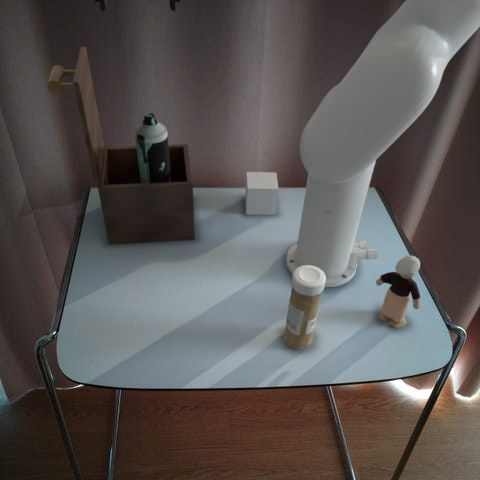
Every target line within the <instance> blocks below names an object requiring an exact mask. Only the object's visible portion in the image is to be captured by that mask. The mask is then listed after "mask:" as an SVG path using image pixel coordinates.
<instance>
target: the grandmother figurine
mask: <svg viewBox="0 0 480 480" xmlns="http://www.w3.org/2000/svg"><path fill="white" fill-rule="evenodd" d="M420 267H421V261H420V259H419V258H418V257H416V256H415V255H406V256H403V257H402V258H400V259H399V260H398V262H397V263H396V264H395V265H394V268H395V271H389V272H386V273H383V274H381V275H380V277H379V278H378V279H377V280H376V281H375V284H376V286H378V287H381V286H383V284H388V285H390V286H389V287H388V289H387V292H386V294H385V296H384V299H383V303H382V306H381V311H380V312H379V314H378V320H380V321H382V322H388V321H389V320H390V319H392V320H391V321H390V323H389V324H390V326H391V327H392V328H395V329H400V328H402V327H405V326H406V325H407V319H406V318H405V316H406V312H407V308H408V306H409V303H410V296H411V299H412V307H413V309H415V310H419V309H420V308H421V304H420V303H421V294H420V290H419V287H418V284H417V282H416V281H415V280H414V279H413V278H414V277H416V276H417V274H418V273H419V271H420V269H421V268H420Z"/></svg>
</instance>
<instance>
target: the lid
mask: <svg viewBox="0 0 480 480" xmlns="http://www.w3.org/2000/svg"><path fill="white" fill-rule="evenodd" d="M87 50H88V49H87V47H86V46H80V48H79V53H78V58H77V62H76V67H75V69H65V68H64V67H63V66H62V65H59V64H55V65H54V66H53V67H52V68H51V71H50V75H49V77H48V81H47V85H46V88H47V90H48V91H49V93H51V94H52V95H59V94H60V93H61V92H62V90H74V93H75V98H76V104H77V108H78V113H79V118H80V122H81V128H82V132H83V136H84V140H85V146H86V150H87V155H88V160H89V165H90V170H91V174H92V178H93V183H94V186H98V185H100V177H101V167H102V158H103V148H104V147H105V143H104V138H103V132H102V126H101V121H100V115H99V111H98V105H97V99H96V95H95V88H94V83H93V78H92V73H91V72H92V71H91V67H90V61H89V56H88V51H87ZM72 76H73V80H72V82H64V81H65V78H66V77H72Z"/></svg>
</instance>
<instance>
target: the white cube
mask: <svg viewBox="0 0 480 480" xmlns="http://www.w3.org/2000/svg"><path fill="white" fill-rule="evenodd" d="M245 180H246V181H245V193H244V194H245V195H244V198H245V199H244V201H245V215H251V216H253V215H255V216H256V215H257V216H277V207H278V199H279V190H280V189H279V181H278V174H277V172H274V171H273V172H272V171H271V172H270V171H269V172H268V171H246V174H245Z"/></svg>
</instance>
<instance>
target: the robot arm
mask: <svg viewBox="0 0 480 480" xmlns="http://www.w3.org/2000/svg"><path fill="white" fill-rule="evenodd" d="M94 2H95V3H99V8H100V12H105V11H106V10H107V8H108V7H107V6H108V1H107V0H94ZM176 3H181V0H169V9H170V11H172V12H176V9H177V8H176ZM479 28H480V0H405V1H404V2H403V3H402V4H401V5H400V7H399V8H398V9H397V10H396V11H395V12H394V13H393V15H392V16H390V18H389V19H388V20H387V21H386V22H385V23H384V24H383V25H382V26H381V27H380V28H378V30H377V31H376V32H375V34H374V35H373V37H372V38H371V40H370V41H369V42H368V44H367V46H366V47H365V49H364V50H363V51H362V52H361V54H360V56H359V57H358V58H357V60H356V61H355V62H354V64H353V65H352V66H351V68H350V69H349V71H347V73H346V74H345V76H344V77H343V78H342V80H341V81H340V82H339V83H338V84H336V85H334V86H333V87H332V88H331V89H330V90H329V91H328V92H327V93H326V94H325V96H324V97H323V99H322V100H321V102H320V103H319V104H318V106H317V107H316V109H315V111H314V113H313V114H312V115H311V117H310V119H309V120H308V121H307V123H306V125H305V127H303V130H302V133H301V135H300V141H299V156H300V159H301V162H302V165H303V168H304V169H305V171H307V181H306V184H305V185H306V187H305V192H304V198H303V205H302V211H301V219H300V225H299V229H298V230H299V231H298V237H297V242H295V243H294V244H292V245H291V246H290V247H289V249H288V251H287V253H286V259H285V260H286V261H285V263H286V267H287V269H288V271H289V273H291V275H293V272H294V271H295V269H297V268H298V267H300V266H304V265H311V266H315V267H317V268H319V269H321V270H322V271H323V272H324V274H325V276H326V281H325V286H324V288H334V287H339V286H342V285H345V284H346V283H348V282H350V281H351V280H352V279H353V278H354V276H355V274H356V271H357V269H358V268H357V267H358V263H359V262H360V261H361V260H377V258H378V257H379V256H378V255H379V253H378V249H377V248H376V247H372V248H371V247H370V248H367V242H366V241H365V240H364V241H363V240H362V241H356V238H357V237H356V236H357V232H358V230H359V226H360V221H361V217H362V213H363V210H364V205H365V202H366V199H367V195H368V191H369V187H370V184H371V179H372V177H373V173H374V168H375V165H376V162H377V160H378V158H379V157H381V156H382V155H383V153H385V152H386V151H387V150H388V148H390V147H391V146H392V145H393V144H394V143H395V142H396V141H397V140H398V138H400V136H402V134H404V133H405V132H406V130H408V129H409V128H410V127H411V125H412V124H413V123H415V121H416V120H417V119H418V118H419V116H421V115H422V114H423V112H424V111H425V110H426V109H427V107H428V106H429V105H430V103H431V101H432V100H433V98H434V97H435V95H436V93H437V91H438V89H439V87H440V85H441V81H442V78H443V74H444V71H445V69H446V67H447V66H448V64H449V63H450V60H451V59H453V57H454V56H455V54H457V52H459V50H460V49H461V48H462V47H463V46H464V45H465V44H466V42H467V41H468V40H469V39H470V38H471V37H472V36H473V35H474V34H475V33H476V32H477V30H478V29H479Z"/></svg>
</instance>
